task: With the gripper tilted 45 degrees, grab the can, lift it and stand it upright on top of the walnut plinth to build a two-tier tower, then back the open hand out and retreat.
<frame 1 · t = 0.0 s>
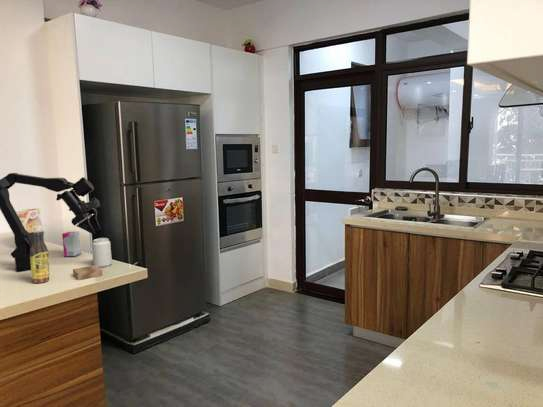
hand: (97, 231, 185), 15 cm above the countertop, tool tilted 35°, fingers open, 9 cm apart
walnut plinth: (87, 275, 171), on the countertop
sauce bottle: (41, 281, 164), on the countertop
can: (103, 266, 185), on the countertop
coffeecake box: (29, 245, 231), on the countertop
supplement box: (72, 256, 205), on the countertop
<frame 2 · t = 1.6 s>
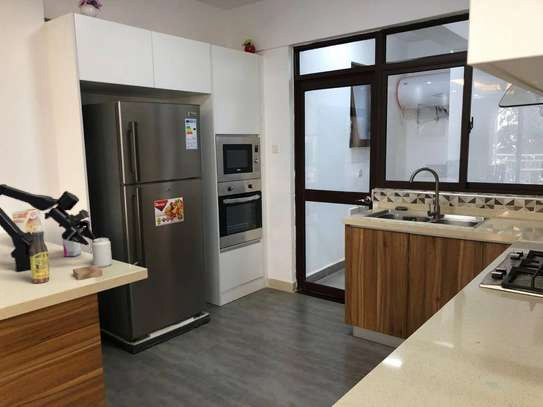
hand: (91, 242, 183), 11 cm above the countertop, tool tilted 45°, fingers open, 9 cm apart
nothing on the countertop moved.
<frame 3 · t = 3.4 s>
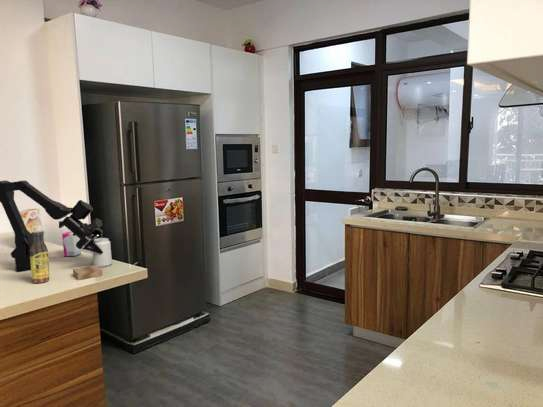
hand: (105, 250, 184), 7 cm above the countertop, tool tilted 45°, fingers closed on can, 7 cm apart
can: (103, 266, 185), on the countertop, touching gripper
everything else where it was.
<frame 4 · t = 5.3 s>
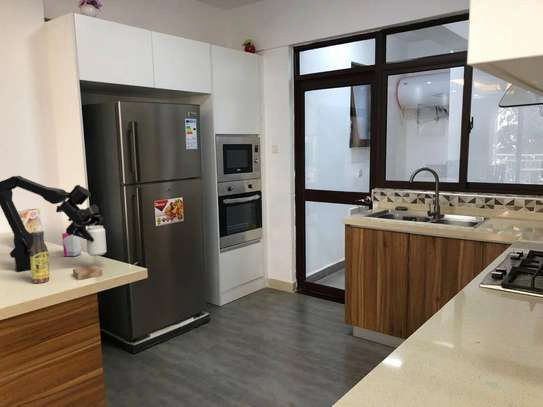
hand: (99, 238, 177), 13 cm above the countertop, tool tilted 45°, fingers closed on can, 7 cm apart
can: (97, 254, 179), point 6 cm above the countertop, touching gripper
everything else where it was.
when the fingers open (10 cm above the countertop, at t = 7.2 s): can drops 1 cm, resting on walnut plinth.
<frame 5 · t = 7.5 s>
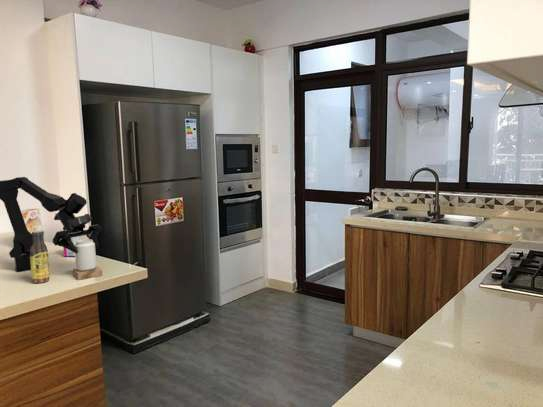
hand: (87, 250, 169), 11 cm above the countertop, tool tilted 45°, fingers open, 9 cm apart
can: (86, 269, 171), point 2 cm above the countertop, touching walnut plinth
everything else where it was.
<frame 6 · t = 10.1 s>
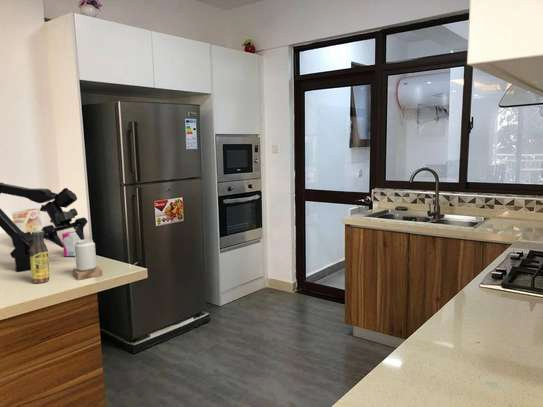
hand: (73, 244, 176), 12 cm above the countertop, tool tilted 40°, fingers open, 9 cm apart
nothing on the countertop moved.
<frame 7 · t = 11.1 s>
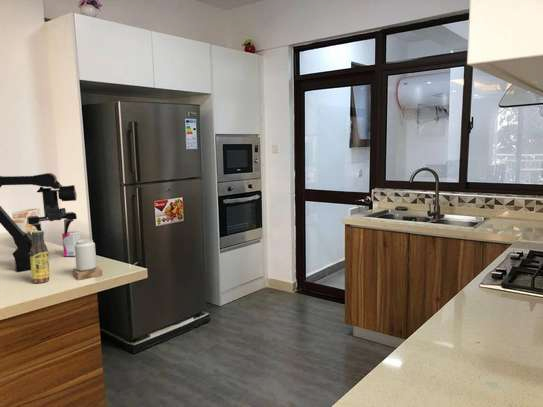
hand: (54, 237, 185), 13 cm above the countertop, tool pointing down, fingers open, 9 cm apart
nothing on the countertop moved.
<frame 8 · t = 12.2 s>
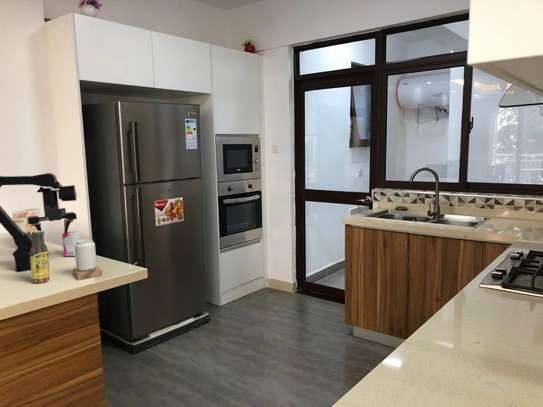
hand: (54, 237, 185), 13 cm above the countertop, tool pointing down, fingers open, 9 cm apart
nothing on the countertop moved.
at the end: can 0.2 cm off-centre on the walnut plinth, point 2.3 cm above the walnut plinth's base; can tilted 0°; the gripper is holding nothing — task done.
